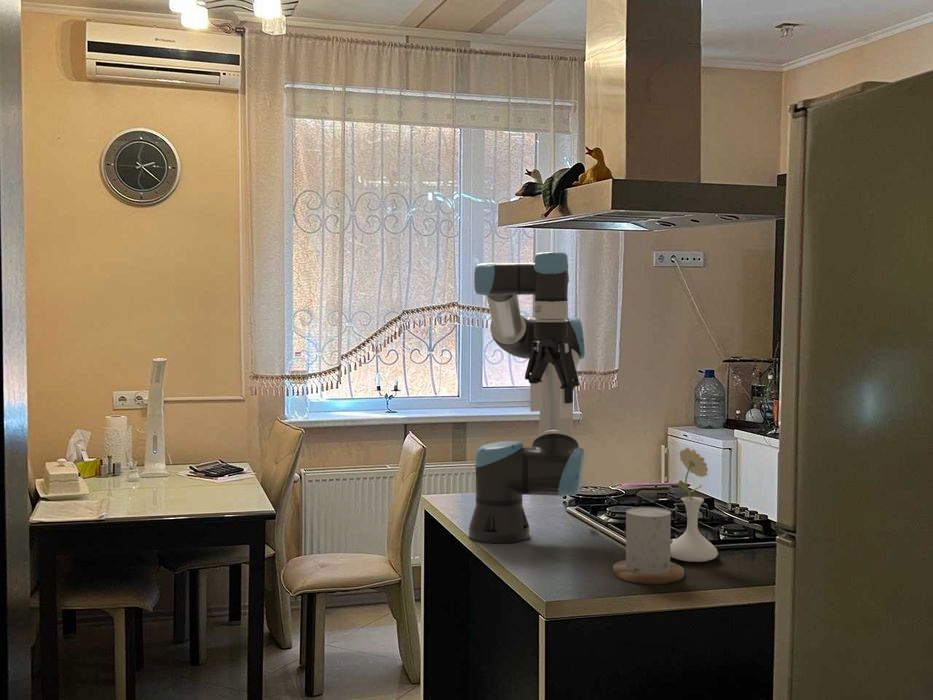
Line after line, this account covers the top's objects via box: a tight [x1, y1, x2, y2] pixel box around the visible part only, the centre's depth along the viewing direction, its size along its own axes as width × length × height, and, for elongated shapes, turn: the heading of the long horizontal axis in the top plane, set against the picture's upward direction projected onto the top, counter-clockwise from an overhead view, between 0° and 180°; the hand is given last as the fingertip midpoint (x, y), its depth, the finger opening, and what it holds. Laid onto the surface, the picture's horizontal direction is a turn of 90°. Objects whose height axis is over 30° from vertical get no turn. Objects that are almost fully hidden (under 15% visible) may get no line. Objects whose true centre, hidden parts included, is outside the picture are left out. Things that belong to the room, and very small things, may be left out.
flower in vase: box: [670, 447, 719, 563], centre depth 221 cm, size 13×11×25 cm
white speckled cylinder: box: [625, 506, 672, 575], centre depth 209 cm, size 10×10×12 cm
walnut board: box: [612, 559, 685, 585], centre depth 209 cm, size 15×15×1 cm
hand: (550, 414), depth 221 cm, fingers open, 13 cm apart
